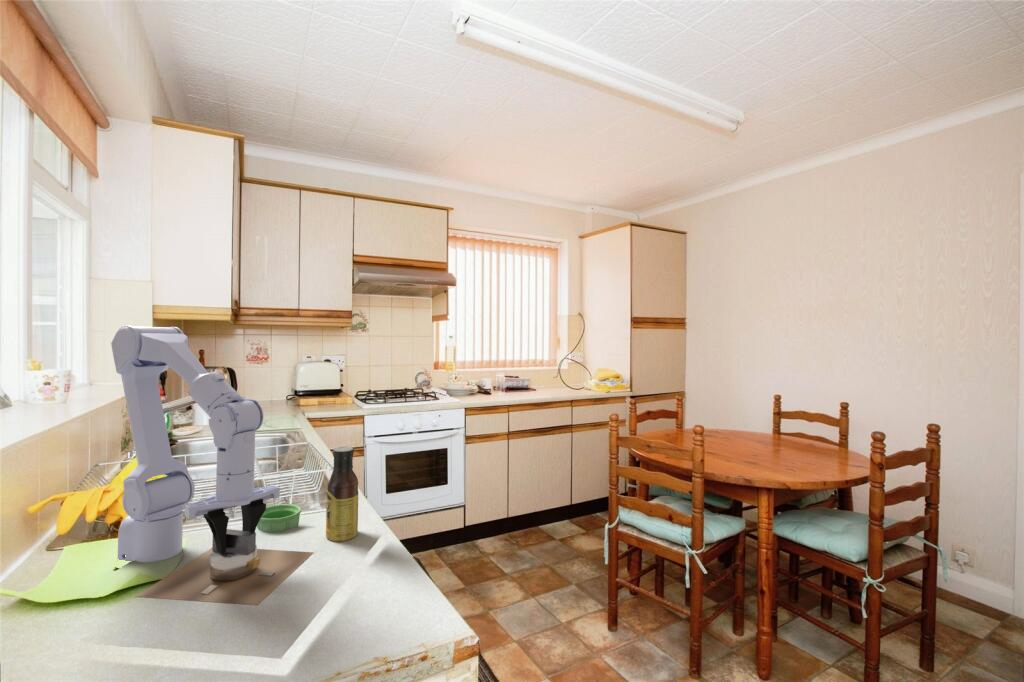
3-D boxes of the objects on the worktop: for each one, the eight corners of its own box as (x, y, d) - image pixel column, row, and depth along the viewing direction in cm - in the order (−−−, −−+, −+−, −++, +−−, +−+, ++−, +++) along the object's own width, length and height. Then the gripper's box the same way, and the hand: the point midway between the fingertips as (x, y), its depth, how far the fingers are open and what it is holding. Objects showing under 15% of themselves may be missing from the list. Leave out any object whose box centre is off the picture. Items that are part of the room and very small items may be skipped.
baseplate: (135, 605, 75) (135, 595, 75) (214, 553, 93) (214, 545, 93) (257, 614, 74) (257, 603, 74) (313, 560, 92) (313, 551, 92)
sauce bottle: (330, 536, 103) (332, 444, 102) (360, 536, 103) (362, 444, 103) (321, 550, 96) (323, 451, 96) (353, 549, 97) (355, 451, 96)
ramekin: (304, 534, 104) (304, 513, 104) (257, 543, 99) (257, 522, 98) (296, 520, 111) (297, 501, 111) (252, 528, 106) (253, 508, 106)
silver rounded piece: (199, 578, 81) (200, 538, 81) (231, 559, 88) (231, 522, 87) (241, 583, 79) (242, 543, 79) (270, 564, 86) (271, 527, 86)
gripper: (196, 484, 75) (194, 570, 75) (288, 466, 86) (286, 541, 86) (181, 475, 80) (179, 556, 80) (270, 459, 91) (269, 530, 91)
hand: (234, 548), depth 83 cm, fingers closed on silver rounded piece, 3 cm apart
